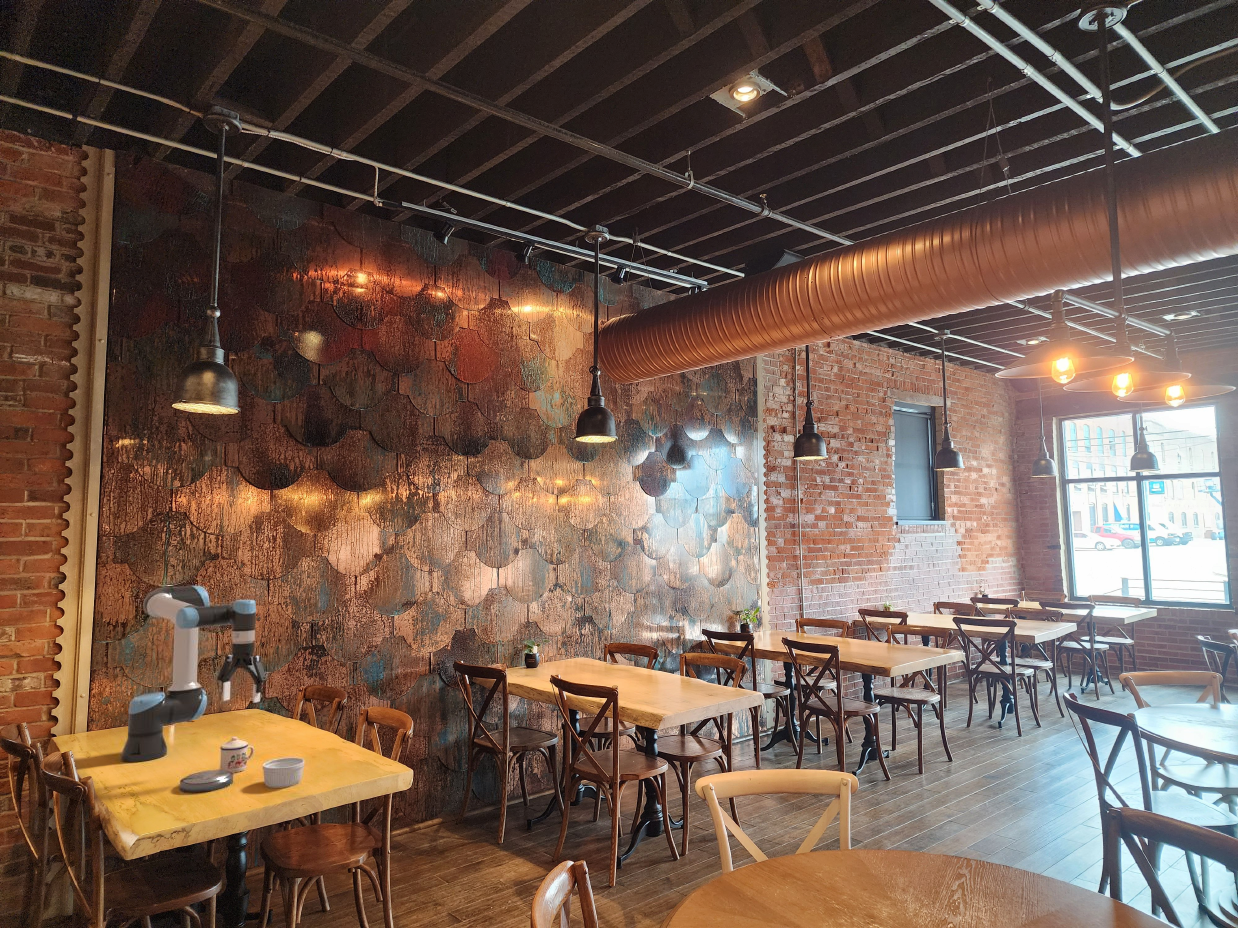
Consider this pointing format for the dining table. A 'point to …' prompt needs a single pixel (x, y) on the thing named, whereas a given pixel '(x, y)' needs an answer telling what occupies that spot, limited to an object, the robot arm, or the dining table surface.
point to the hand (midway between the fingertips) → (241, 701)
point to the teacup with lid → (235, 755)
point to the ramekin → (283, 772)
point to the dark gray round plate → (206, 781)
